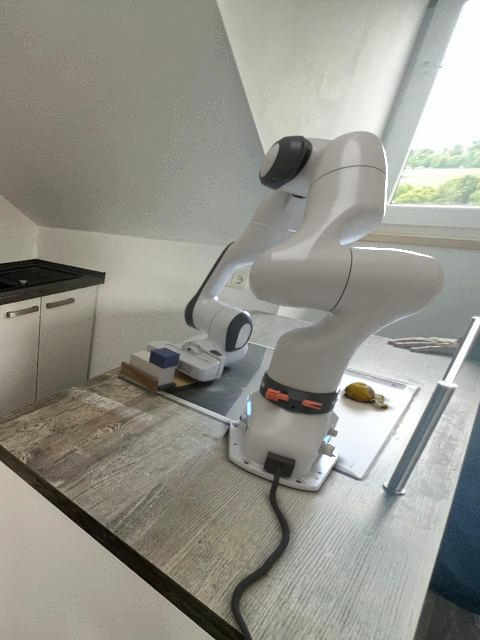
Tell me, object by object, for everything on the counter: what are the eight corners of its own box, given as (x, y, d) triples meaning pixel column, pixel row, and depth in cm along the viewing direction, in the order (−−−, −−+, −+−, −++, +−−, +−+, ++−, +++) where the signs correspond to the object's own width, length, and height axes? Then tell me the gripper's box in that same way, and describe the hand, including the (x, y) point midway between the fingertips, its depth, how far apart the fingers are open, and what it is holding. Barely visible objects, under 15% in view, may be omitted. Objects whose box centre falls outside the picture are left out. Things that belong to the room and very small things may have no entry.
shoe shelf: (162, 366, 114) (164, 353, 112) (198, 385, 103) (201, 371, 101) (119, 375, 108) (121, 361, 107) (152, 396, 97) (155, 381, 96)
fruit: (389, 410, 92) (395, 397, 90) (344, 400, 96) (349, 387, 94) (382, 396, 98) (388, 383, 96) (340, 387, 102) (345, 375, 101)
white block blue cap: (175, 387, 99) (182, 354, 96) (159, 391, 97) (165, 358, 94) (141, 369, 109) (146, 338, 106) (126, 372, 107) (130, 341, 103)
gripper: (170, 333, 116) (133, 339, 111) (231, 359, 98) (190, 367, 93) (166, 353, 118) (130, 360, 113) (225, 381, 101) (185, 390, 96)
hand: (158, 363), depth 103 cm, fingers closed
